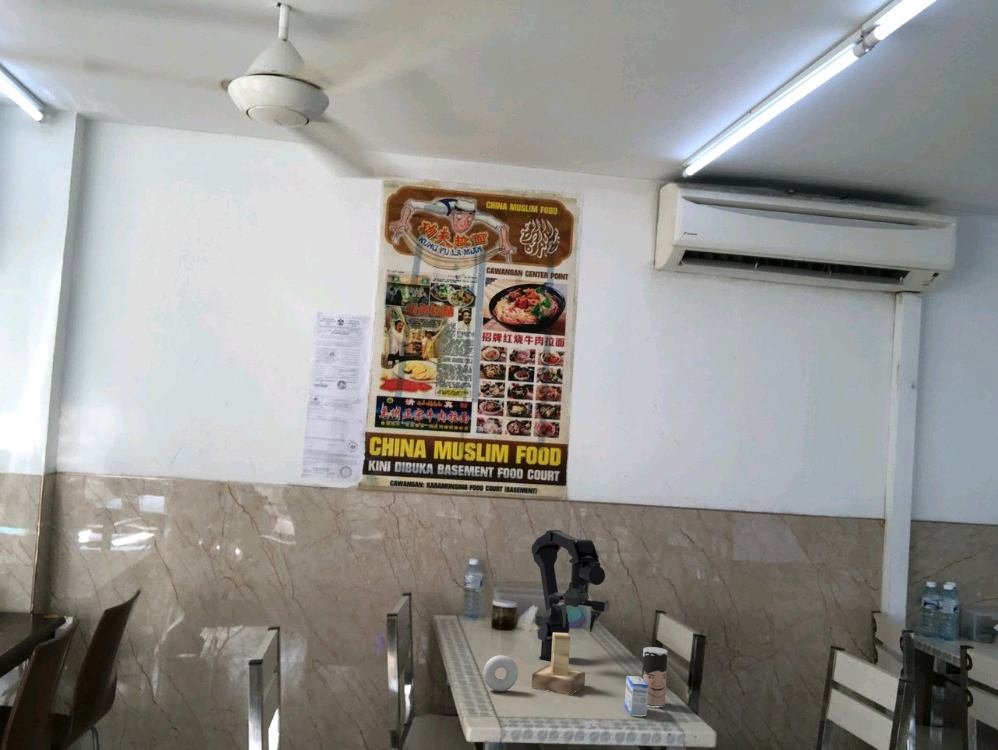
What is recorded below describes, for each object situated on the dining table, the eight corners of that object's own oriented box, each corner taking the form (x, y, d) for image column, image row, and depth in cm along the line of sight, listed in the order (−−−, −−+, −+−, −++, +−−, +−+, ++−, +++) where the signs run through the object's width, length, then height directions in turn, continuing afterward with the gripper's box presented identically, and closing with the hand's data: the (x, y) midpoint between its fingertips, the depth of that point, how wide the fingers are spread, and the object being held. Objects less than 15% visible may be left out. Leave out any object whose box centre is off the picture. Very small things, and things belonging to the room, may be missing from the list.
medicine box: (624, 707, 238) (625, 675, 239) (639, 708, 238) (641, 676, 239) (630, 716, 230) (632, 683, 231) (647, 717, 230) (649, 684, 231)
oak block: (550, 670, 256) (552, 632, 257) (565, 671, 256) (567, 633, 257) (552, 674, 251) (555, 636, 252) (567, 675, 252) (570, 636, 252)
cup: (638, 705, 240) (641, 650, 241) (642, 699, 247) (645, 645, 248) (663, 709, 238) (666, 654, 239) (666, 703, 244) (668, 649, 246)
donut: (516, 690, 247) (518, 654, 248) (517, 693, 244) (520, 657, 245) (481, 688, 246) (483, 653, 247) (482, 692, 243) (484, 656, 244)
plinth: (531, 687, 251) (532, 673, 251) (547, 678, 261) (547, 664, 262) (570, 695, 246) (571, 681, 246) (584, 685, 256) (585, 671, 257)
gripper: (543, 578, 270) (539, 629, 269) (599, 586, 262) (596, 638, 261) (556, 574, 280) (553, 623, 279) (611, 582, 272) (608, 632, 271)
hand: (577, 629), depth 272 cm, fingers open, 9 cm apart
